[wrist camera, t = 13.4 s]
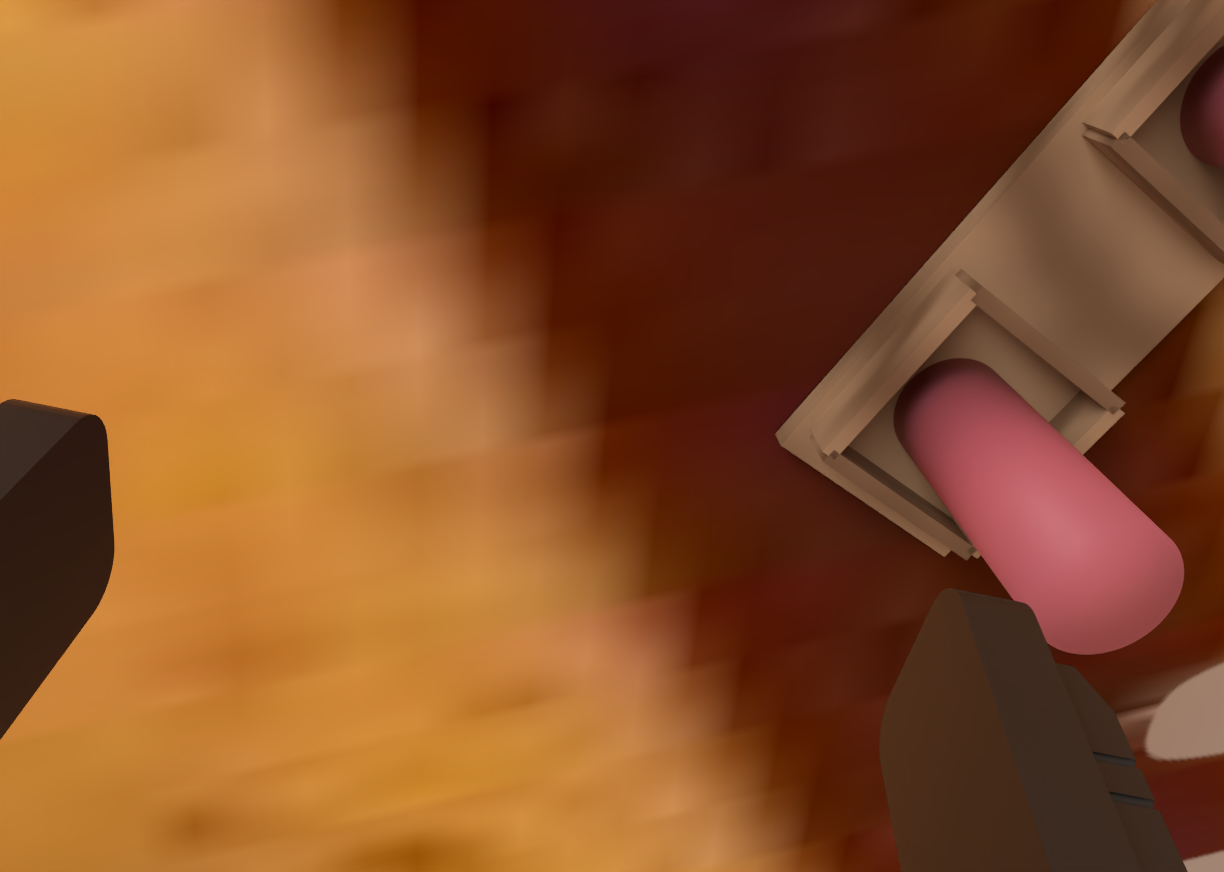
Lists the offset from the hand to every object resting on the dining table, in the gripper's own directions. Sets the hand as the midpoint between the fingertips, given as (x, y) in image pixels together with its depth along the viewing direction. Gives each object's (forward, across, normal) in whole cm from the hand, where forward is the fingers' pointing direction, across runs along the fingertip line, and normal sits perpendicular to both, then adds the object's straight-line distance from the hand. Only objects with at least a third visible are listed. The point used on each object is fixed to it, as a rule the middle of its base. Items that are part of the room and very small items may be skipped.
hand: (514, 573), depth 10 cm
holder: (+30, -17, +5) cm, 35 cm away
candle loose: (+28, -14, +11) cm, 33 cm away
